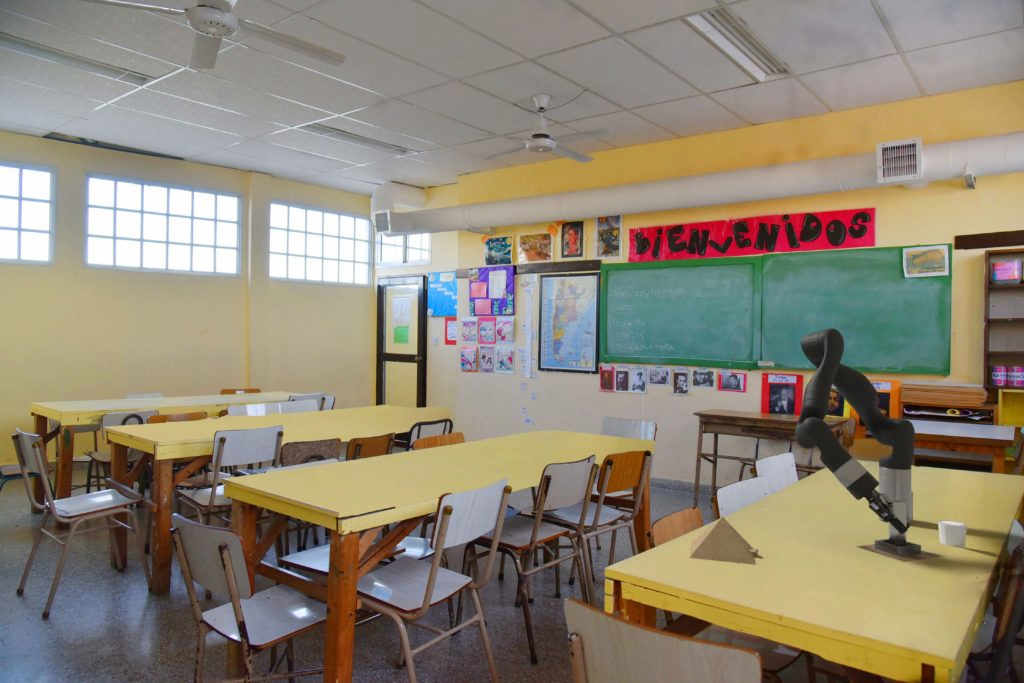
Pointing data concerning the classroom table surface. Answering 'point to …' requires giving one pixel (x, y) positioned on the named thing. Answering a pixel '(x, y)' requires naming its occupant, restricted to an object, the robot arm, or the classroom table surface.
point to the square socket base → (898, 550)
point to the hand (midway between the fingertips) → (906, 530)
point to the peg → (900, 512)
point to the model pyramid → (723, 545)
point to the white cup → (952, 533)
